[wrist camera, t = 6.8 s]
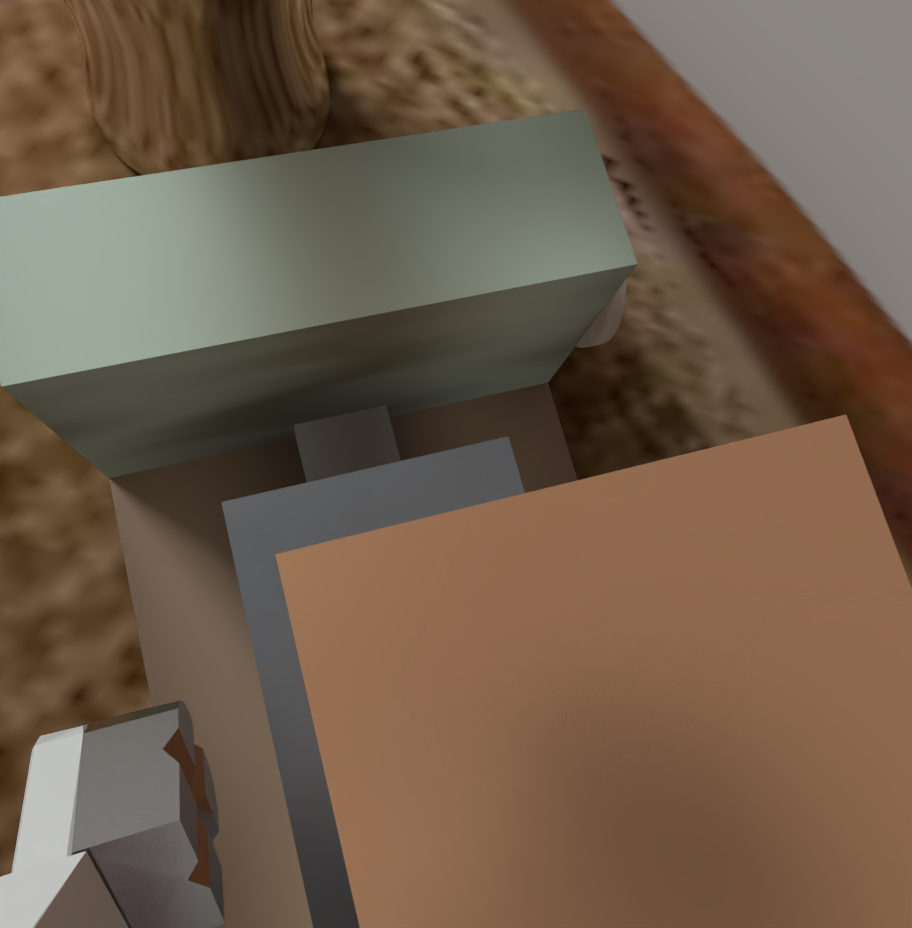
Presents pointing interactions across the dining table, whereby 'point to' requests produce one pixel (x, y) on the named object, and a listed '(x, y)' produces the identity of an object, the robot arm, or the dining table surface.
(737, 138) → the dining table surface
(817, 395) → the dining table surface
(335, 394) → the rail track
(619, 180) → the dining table surface
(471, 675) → the carriage
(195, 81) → the beer glass
